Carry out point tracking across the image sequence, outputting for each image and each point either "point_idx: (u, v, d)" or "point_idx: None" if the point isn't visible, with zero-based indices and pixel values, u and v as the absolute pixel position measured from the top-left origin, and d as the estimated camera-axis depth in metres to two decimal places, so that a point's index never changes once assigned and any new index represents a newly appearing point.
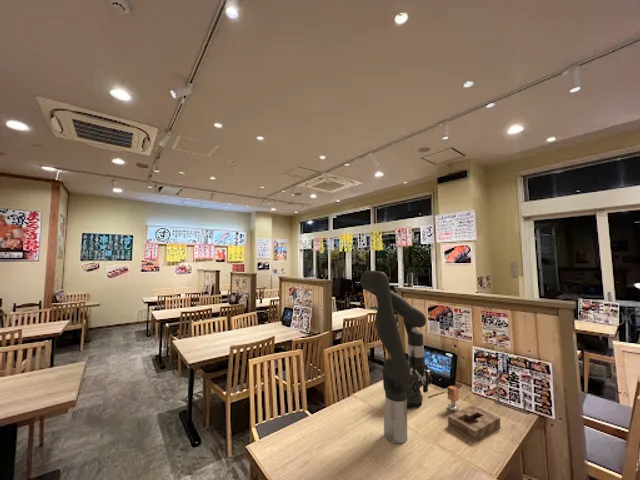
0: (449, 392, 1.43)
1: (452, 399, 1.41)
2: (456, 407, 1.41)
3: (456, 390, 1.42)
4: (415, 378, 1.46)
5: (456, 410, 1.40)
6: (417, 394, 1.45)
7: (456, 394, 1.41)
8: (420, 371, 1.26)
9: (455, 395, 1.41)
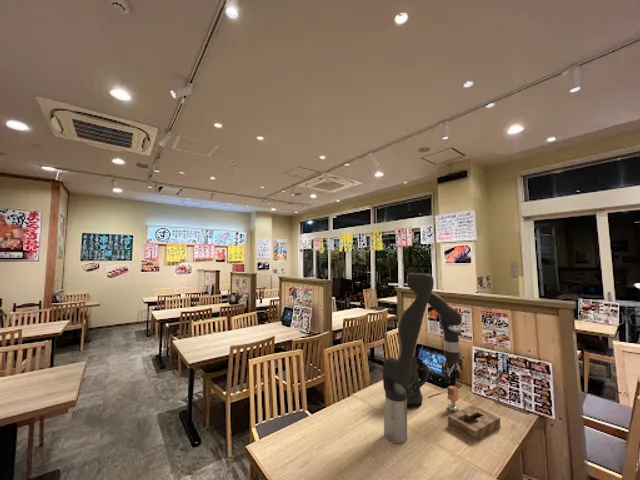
0: (449, 392, 1.43)
1: (452, 399, 1.41)
2: (456, 407, 1.41)
3: (456, 390, 1.42)
4: (415, 378, 1.46)
5: (456, 410, 1.40)
6: (417, 394, 1.45)
7: (456, 394, 1.41)
8: (457, 362, 1.44)
9: (455, 395, 1.41)
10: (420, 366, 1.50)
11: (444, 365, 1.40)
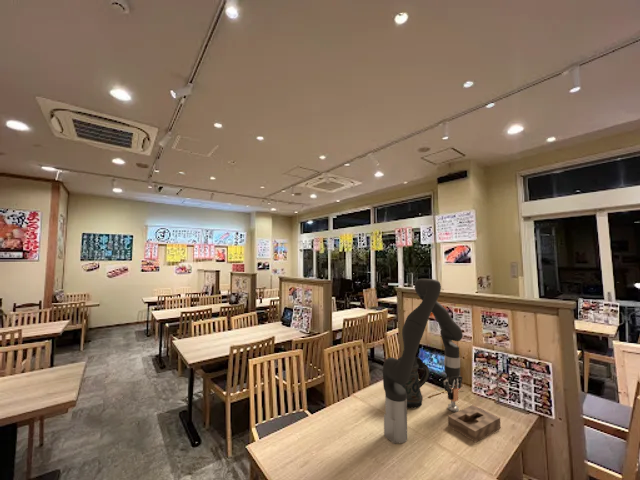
0: None
1: None
2: (456, 407, 1.41)
3: (456, 390, 1.42)
4: (415, 378, 1.46)
5: (456, 410, 1.40)
6: (417, 394, 1.45)
7: (456, 394, 1.41)
8: (457, 379, 1.44)
9: (455, 395, 1.41)
10: (420, 366, 1.50)
11: (445, 384, 1.40)
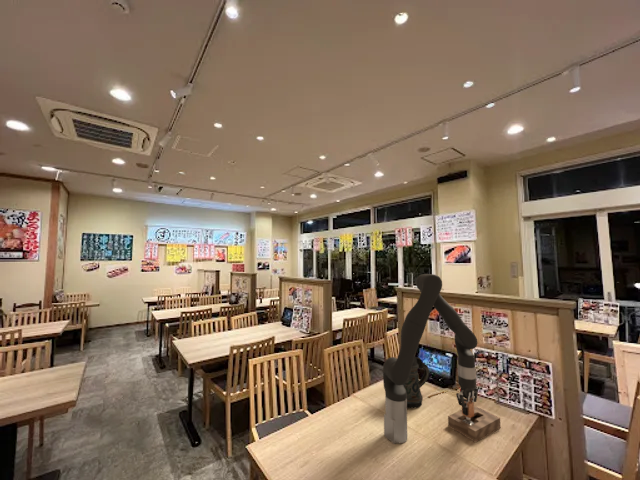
0: None
1: (467, 415, 1.24)
2: (472, 424, 1.25)
3: (471, 404, 1.25)
4: (415, 378, 1.46)
5: None
6: (417, 394, 1.45)
7: (472, 409, 1.25)
8: None
9: (471, 410, 1.24)
10: (420, 366, 1.50)
11: (459, 397, 1.23)
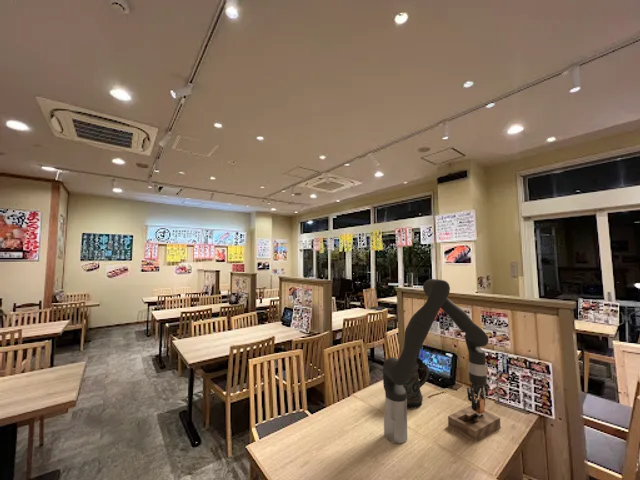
0: None
1: (478, 411, 1.28)
2: None
3: (482, 401, 1.29)
4: (415, 378, 1.46)
5: None
6: (417, 394, 1.45)
7: (482, 405, 1.29)
8: (483, 387, 1.31)
9: (481, 407, 1.28)
10: (420, 366, 1.50)
11: (470, 391, 1.27)
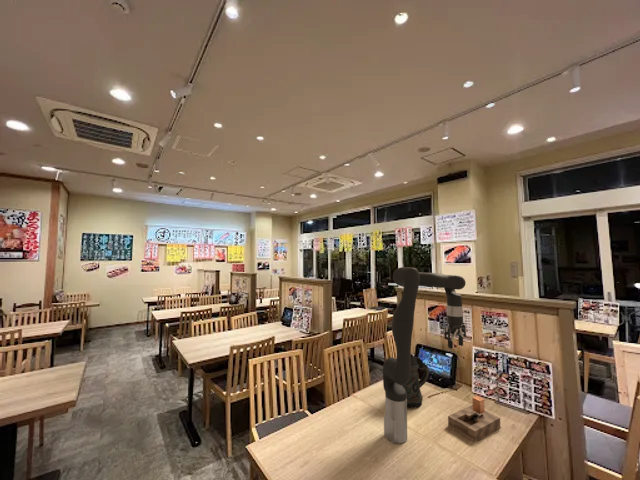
0: (474, 403, 1.30)
1: (478, 411, 1.28)
2: None
3: (482, 401, 1.29)
4: (415, 378, 1.46)
5: None
6: (417, 394, 1.45)
7: (482, 405, 1.29)
8: (460, 328, 1.39)
9: (481, 407, 1.28)
10: (420, 366, 1.50)
11: (447, 330, 1.35)
